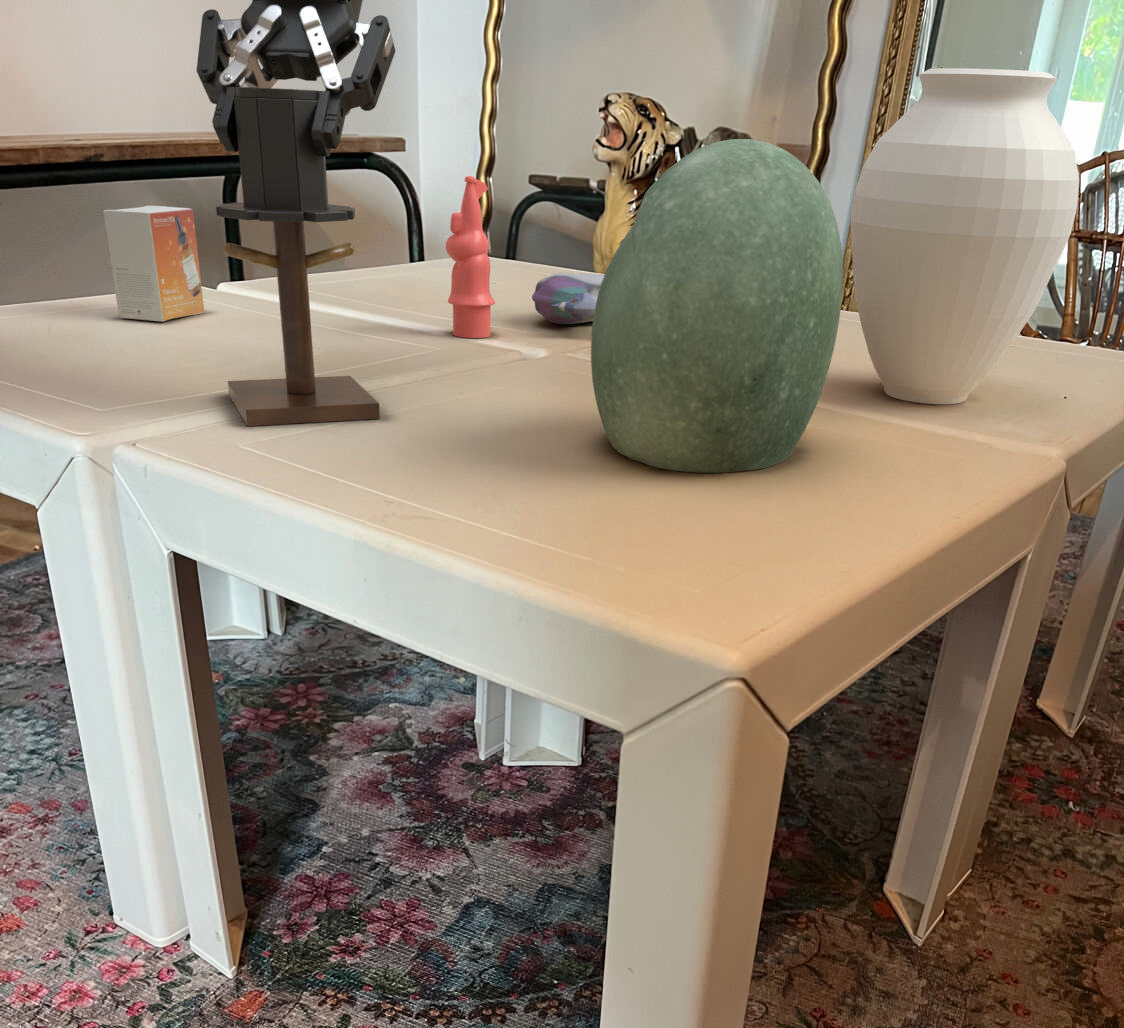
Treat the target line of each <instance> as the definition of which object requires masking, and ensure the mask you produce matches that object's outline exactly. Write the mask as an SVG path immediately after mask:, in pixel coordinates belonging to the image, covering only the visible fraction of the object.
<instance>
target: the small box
mask: <svg viewBox="0 0 1124 1028" xmlns="http://www.w3.org/2000/svg"><path fill="white" fill-rule="evenodd" d="M102 212H103V219H104V225H105V233H106V240H107V245H108V253H109V259H110V266H111V271H112V273H111V274H112V280H113V287H114V293H115V299H116V305H117V312H118V317H119V318H120V319H128V320H141V321H153V322H166V321H169V320H173V319H178V318H182V317H190V316H194V315H200V314H204V313H205V306H204V297H203V288H202V287H203V286H202V279H201V278H202V277H201V270H200V262H199V261H200V259H199V253H198V252H199V251H198V243H197V235H196V234H197V233H196V226H195V225H196V223H195V217H194V215H195V214H194V210H193V208H191V207H190V208H188V207H178V206H165V205H145V206H138V207H131V208H130V207H129V208H121V209H103V211H102Z"/></svg>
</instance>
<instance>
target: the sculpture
mask: <svg viewBox="0 0 1124 1028" xmlns="http://www.w3.org/2000/svg"><path fill="white" fill-rule="evenodd" d="M838 226H839V225H838V221H837V218H836V215H835V211H834V210H833V207H832V204H831V202H830V200H829V197H828V194H827V193H826V191H825V189H824V188H823V186H822V184H821V183H820V181H819V180H818V178H817V177H816V176H815V175H814V173H813V172H812V171H811V170H810V169H809V168H808V167H807V166H806V165H805V164H804V163H803V162H802V161H801V160H800V159H799V158H798V157H796V156H795V155H793V154H792V153H790V151H787V150H785V149H784V148H781V147H779V146H777V145H774V144H772V143H769V142H766V141H761V140H757V139H751V138H730V139H726V140H720V141H716V142H713V143H709V144H707V145H705V146H702V147H699V148H697V149H696V150H693V151H692V152H690V153H688V154H687V155H685V156H683V157H682V158H681V159H679V160H678V161H676V162H675V163H674V164H673V165H671V166H670V167H669V168H667V170H666V171H665V172H664V173H662V174H661V175H660V176H659V177H658V178H657V180H656V181H654V182H653V184H652V185H650V187H649V188H648V189H647V190H646V192H645V193H644V194H643V198H642V201H641V202H640V206H639V208H638V210H637V212H636V216H635V219H634V221H633V224H632V226H631V227H630V229H629V230H628V231H627V233H626V234H625V236H624V237H623V239H622V241H621V242H620V244H619V246H618V247H617V249H616V250H615V252H614V254H613V256H612V258H611V259H610V262H609V264H608V266H607V268H606V270H605V273H604V274H605V275H604V278H603V281H602V283H601V286H600V290H599V293H598V297H597V302H596V307H595V312H594V318H593V321H592V325H591V326H592V328H591V341H590V364H591V365H590V366H591V376H592V385H593V393H594V397H595V398H594V399H595V402H596V403H595V404H596V406H597V410H598V414H599V417H600V421H601V424H602V427H603V429H604V432H605V434H606V437H607V439H608V441H609V443H610V446H612V447H613V448H614V450H615V451H617V452H618V453H619V454H620V455H622V456H624V457H626V458H628V459H630V460H633V461H635V462H638V463H642V464H644V465H646V466H647V465H648V466H650V467H654V468H657V469H663V470H668V471H676V472H685V473H700V474H701V473H704V474H718V473H719V474H721V473H735V472H746V471H747V472H748V471H757V470H763V469H766V468H770V467H772V466H775V465H778V464H780V463H782V462H784V461H785V460H787V459H788V458H789V457H790V456H791V455H792V453H793V451H794V450H795V448H796V445H797V444H798V442H799V441H800V439H801V437H802V436H803V434H804V433H805V431H806V429H807V427H808V425H809V423H810V421H811V418H812V416H813V415H814V412H815V410H816V408H817V405H818V403H819V401H820V397H821V396H822V392H823V389H824V386H825V384H826V380H827V376H828V373H829V370H830V366H831V362H832V358H833V354H834V350H835V345H836V341H837V335H838V329H839V325H840V317H841V309H842V300H843V299H842V298H843V282H844V281H843V279H844V278H843V277H844V272H843V270H844V269H843V267H844V266H843V251H842V249H843V248H842V241H841V235H840V231H839V227H838Z"/></svg>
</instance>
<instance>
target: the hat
mask: <svg viewBox="0 0 1124 1028" xmlns="http://www.w3.org/2000/svg"><path fill="white" fill-rule="evenodd" d="M320 91H321V90H316V89H315V90H314V89H297V88H295V89H294V88H275V87H272V88H253V87H235V96H236V97H234V106H235V116H236V127H237V138H238V148H239V150H238V158H239V168H240V179H241V189H242V191H241V192H242V201H243V202H229V203H221V204H219V205H217V206H215V211H216V216H217V217H220V218H227V219H233V220H234V219H235V220H241V221H259V222H272V223H273V222H303V221H304V222H309V223H328V222H347V221H353V220H354V219H355V217H356V208H355V207H351V206H348V205H347V206H346V205H339V204H331V203H330V204H329V195H328V193H329V192H328V177H327V162H326V161H327V160H326V156H318V154H317V151H316V149H315V146H314V143H313V140H312V135H311V130H312V125H313V121H314V116H315V112H316V107H317V103H318V98H319V94H320Z"/></svg>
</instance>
